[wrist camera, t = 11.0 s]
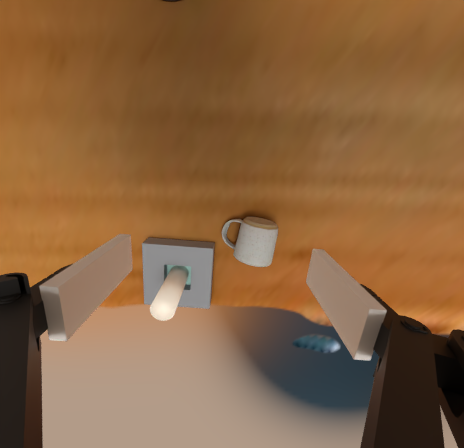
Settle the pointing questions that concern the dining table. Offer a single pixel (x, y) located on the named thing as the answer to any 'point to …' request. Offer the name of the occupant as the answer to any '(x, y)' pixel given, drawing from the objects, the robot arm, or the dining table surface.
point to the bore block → (181, 254)
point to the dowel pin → (169, 293)
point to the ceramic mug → (253, 241)
